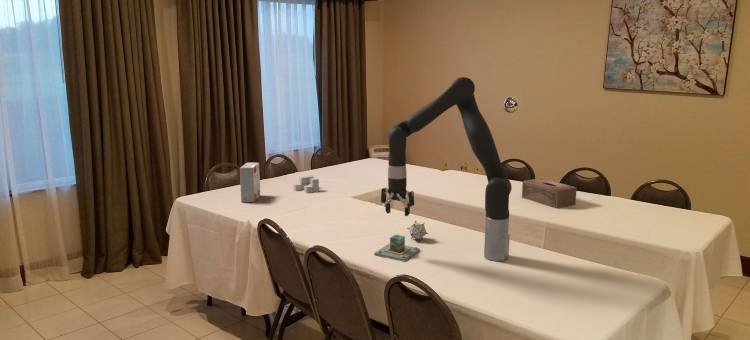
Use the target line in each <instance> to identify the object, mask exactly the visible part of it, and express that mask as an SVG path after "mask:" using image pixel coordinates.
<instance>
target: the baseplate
mask: <svg viewBox="0 0 750 340" xmlns="http://www.w3.org/2000/svg"><path fill="white" fill-rule="evenodd" d="M420 251H421V249H420V247H417V246H411V245H405V250H404V251H402V252H401V253H397V252H392V251H390V242H389V243H388V244H386V245H385V246H383V247H382V248H380V249H378V250H377V251H375V252H374V253H373V254H374V256H377V257H380V258H381V257H382V258H387V259H390V260H395V261H400V262H406V261H407V260H409V259H410V258H412V256H414V255H416V254H417V253H419V252H420Z"/></svg>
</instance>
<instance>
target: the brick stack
mask: <svg viewBox="0 0 750 340" xmlns="http://www.w3.org/2000/svg"><path fill="white" fill-rule="evenodd" d="M389 243H390V251H392V252H397V253H401V252H402V251H404V250H405V246H406V244H405V243H406V238H405V235H400V234H394V235H392V236H390V237H389Z"/></svg>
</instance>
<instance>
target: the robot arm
mask: <svg viewBox="0 0 750 340" xmlns="http://www.w3.org/2000/svg"><path fill="white" fill-rule="evenodd" d="M475 91H476V86H475V83H474V81H473V80H472V79H471V78H469V77H466V76H461V77H458V78H456V79H455V80H453V82H452V83H451V84H450V86H449V87H448V88H447V89H446V90H445V91H444V92H443V93H440V94H439V96H437V97H436V98H434V99H433V100H431V101H430V102H428V103H427V104H425V105H423V106H422V107H420V108H419V109H417V110H416V111H415V112H413V113H412V114H411V115H409V116H408V117H407V118H405V119H404V120H402V121H400V122H398V123H396V124H395V125H393V126H392V127H391V128H390V129H389V130H388V132H387V138H388V150H389V151H388V168H387V187H388V188H387V187H383V188H381V192H380V203H382V204H385V212H386V214H391V209H392V207H391V202H392V201H397V202H401V204H403V206H404V217H408V216H409V215H410V214H411V207H414V205H415V193H414V190H411V191H408V190H407V185H408V184H407V183H408V182H407V181H408V180H407V178H408V177H407V155H406V154H407V153H406V149H407V139H408V137H409V136H411V135H413V134H414V133H417V132H420V131H421V130H422V129H424V128H425V127H427V126H428V125H429V124H431V123H432V122H434V121H435V120H436V119H437V118H439V117H440V116H441V115H442V114H443V113H444V112H445V113H446V111H447V110H449V109H451V108H452V107H455V106H456V107H457V109H458V112H459V113H460V114H459V115H460V116H461V120H462V124H463V127H464V130H465V134H466V136H467V140H468V142H469V145H470V147H471V150H472V152H473V154H474V155H475V157H476V159H477V160H478V162H479V163H480V164H481V166H482V168H483V171H484V172H485V176H486V180H487V185H486V187H485V193H484V210H485V225H484V226H485V227H484V247H483V248H484V249H483V250H484V251H483V257H484V258H485V259H487V260H489V261H494V262H497V261H498V262H505V261H506V260H507V259H508V258H509V257H510V237H511V234H509V230H510V228H509V226H510V209H509V208H510V205H509V203H510V194H511V192H512V190H513V189H512V183H511V181H510V178H509V176H508V175H507V173H506V171H505V168H504V167H503V165H502V162H501V159H500V156H499V152H498V149H497V145H496V142H495V140H494V138H493V135H492V132H491V129H490V127H489V125H488V123H487V121H486V119H485V118H484V117H483V114H482V113H481V111H480V109H479V106H478V104H477V101H476V97H475ZM387 194H388V195H389V196H388V197H387Z"/></svg>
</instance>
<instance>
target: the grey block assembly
mask: <svg viewBox="0 0 750 340" xmlns="http://www.w3.org/2000/svg"><path fill="white" fill-rule="evenodd" d="M298 178H299V180H298V183H293V184H292V186H293V191H295V192H299V191H304V193H306V194H311V193H317V192H319V191H320V188H319V187H320V186H319V185H320V180H319V178H317V177H314V175H304V176H303V175H300V176H299V177H298Z"/></svg>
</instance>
